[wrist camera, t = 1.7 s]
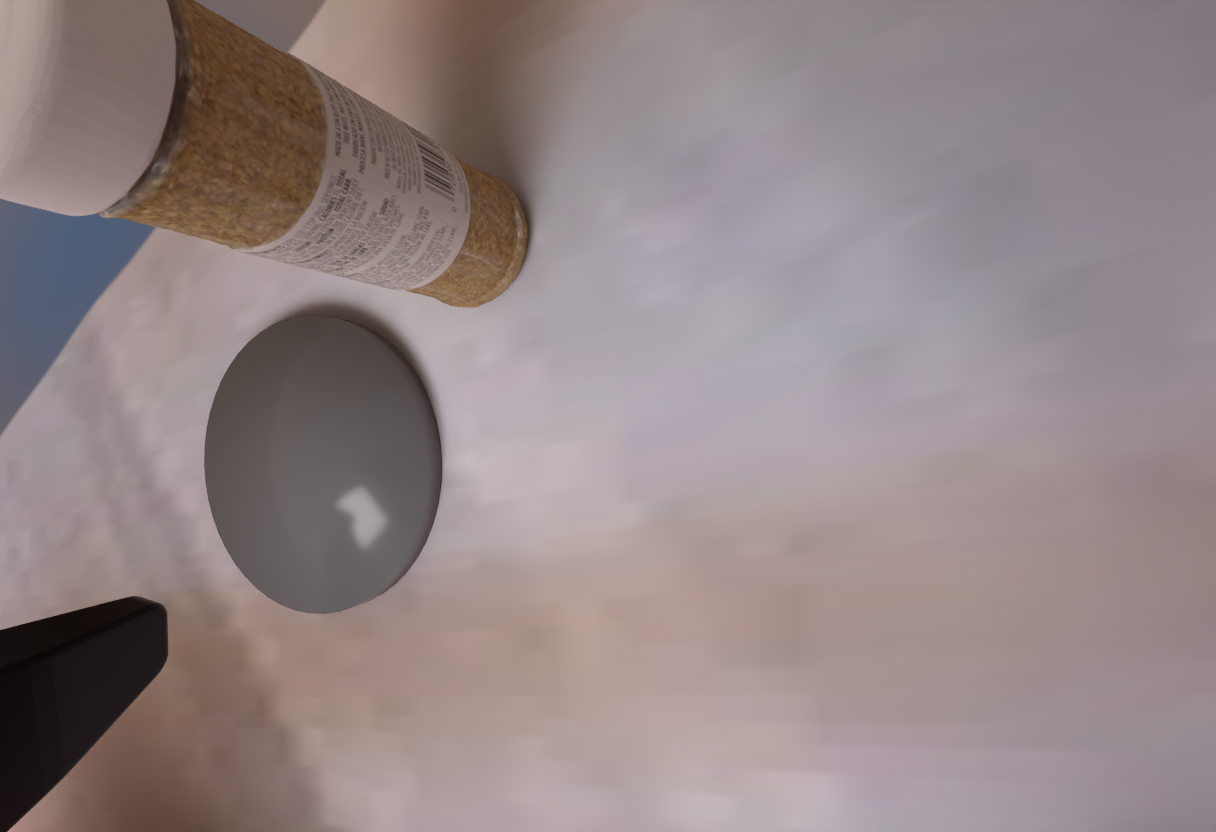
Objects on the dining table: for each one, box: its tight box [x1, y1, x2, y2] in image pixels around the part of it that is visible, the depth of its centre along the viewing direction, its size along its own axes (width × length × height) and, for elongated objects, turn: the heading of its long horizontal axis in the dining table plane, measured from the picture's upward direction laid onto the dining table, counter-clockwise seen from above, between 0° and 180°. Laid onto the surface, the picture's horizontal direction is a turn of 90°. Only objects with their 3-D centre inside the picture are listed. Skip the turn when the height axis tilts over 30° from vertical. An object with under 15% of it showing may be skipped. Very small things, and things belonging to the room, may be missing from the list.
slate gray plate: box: [204, 316, 441, 614], centre depth 24 cm, size 11×11×1 cm
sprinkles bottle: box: [0, 0, 528, 307], centre depth 16 cm, size 5×5×14 cm
